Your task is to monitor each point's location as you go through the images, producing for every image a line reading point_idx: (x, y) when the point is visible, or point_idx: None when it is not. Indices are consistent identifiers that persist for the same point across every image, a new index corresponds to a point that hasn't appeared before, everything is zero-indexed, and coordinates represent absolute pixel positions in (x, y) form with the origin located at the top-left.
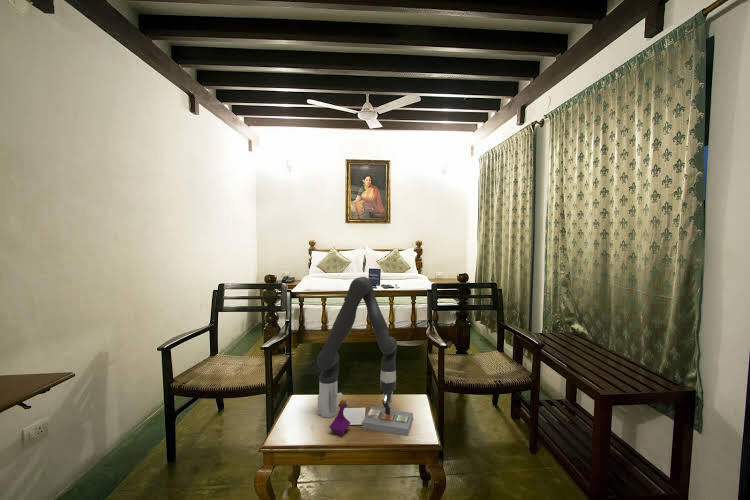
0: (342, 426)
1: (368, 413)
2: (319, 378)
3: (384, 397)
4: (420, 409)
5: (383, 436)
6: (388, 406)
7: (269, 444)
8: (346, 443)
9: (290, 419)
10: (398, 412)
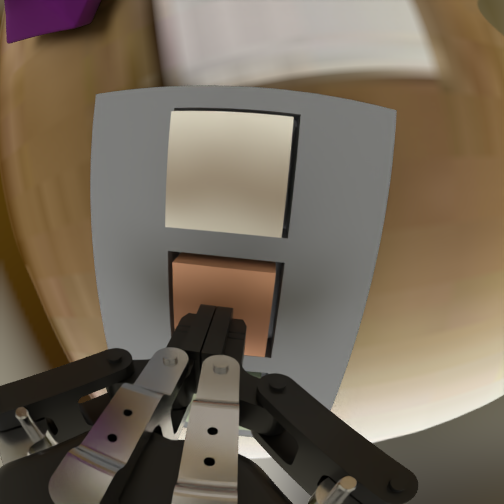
0: (6, 27)
1: (185, 111)
2: None
3: (28, 455)
4: (408, 422)
5: (79, 270)
6: (97, 407)
7: None
8: (4, 92)
9: None
10: (318, 374)
